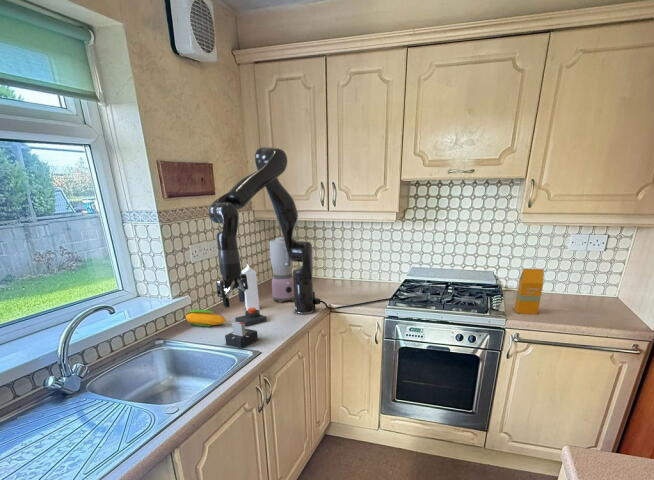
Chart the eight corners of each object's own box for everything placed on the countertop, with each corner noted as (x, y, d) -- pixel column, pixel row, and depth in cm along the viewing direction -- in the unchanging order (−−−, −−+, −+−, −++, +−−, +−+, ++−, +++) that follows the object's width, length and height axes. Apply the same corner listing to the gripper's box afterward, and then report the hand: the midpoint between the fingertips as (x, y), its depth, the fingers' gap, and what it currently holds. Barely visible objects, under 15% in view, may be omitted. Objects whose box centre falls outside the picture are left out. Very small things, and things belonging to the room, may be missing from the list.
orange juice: (537, 314, 190) (546, 271, 181) (517, 313, 191) (524, 270, 183) (533, 309, 197) (541, 267, 188) (514, 308, 198) (521, 267, 190)
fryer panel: (242, 336, 169) (241, 327, 167) (260, 340, 165) (259, 330, 163) (223, 346, 160) (222, 336, 158) (242, 350, 156) (241, 340, 154)
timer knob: (233, 334, 160) (232, 322, 158) (236, 333, 161) (235, 320, 159) (242, 336, 158) (241, 323, 156) (245, 335, 159) (244, 322, 157)
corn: (190, 305, 185) (229, 308, 180) (193, 320, 189) (231, 324, 183) (180, 311, 179) (220, 314, 173) (184, 327, 182) (223, 330, 177)
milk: (257, 306, 208) (253, 263, 199) (259, 309, 203) (255, 265, 194) (245, 308, 206) (240, 264, 197) (247, 311, 201) (242, 266, 192)
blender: (269, 298, 221) (264, 237, 208) (289, 295, 227) (286, 235, 213) (281, 305, 209) (276, 241, 195) (302, 302, 214) (299, 239, 201)
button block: (256, 316, 193) (255, 308, 191) (266, 321, 187) (265, 313, 185) (235, 322, 187) (234, 313, 185) (245, 326, 180) (244, 318, 179)
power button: (253, 310, 190) (253, 307, 189) (257, 312, 187) (257, 308, 186) (247, 312, 187) (246, 308, 187) (251, 314, 185) (250, 310, 184)
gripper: (223, 265, 141) (229, 310, 148) (250, 258, 152) (254, 301, 159) (207, 263, 144) (214, 308, 151) (234, 257, 155) (239, 298, 162)
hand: (234, 304), depth 155 cm, fingers open, 8 cm apart
